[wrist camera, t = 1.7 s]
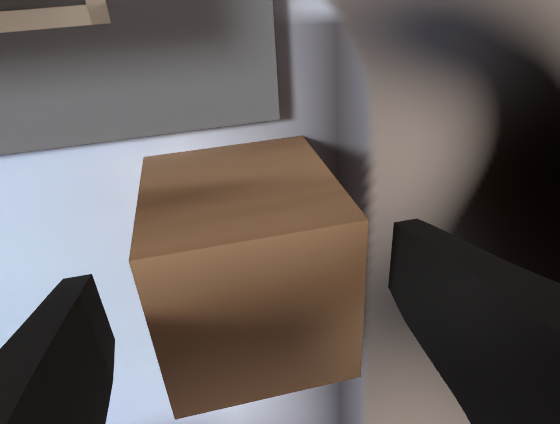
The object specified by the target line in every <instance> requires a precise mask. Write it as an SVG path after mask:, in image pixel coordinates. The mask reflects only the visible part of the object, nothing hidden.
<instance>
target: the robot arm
mask: <svg viewBox="0 0 560 424" xmlns="http://www.w3.org/2000/svg"><path fill="white" fill-rule="evenodd" d="M388 287H389V289H390V291H391V293H392V296H393V298H394V300H395V302H396V304H397V306H398V308H399V310H400V312H401V314H402V316H403V318H404V320H405V322H406V323H407V325H408V327H409V328H410V330H411V331H412V333H413V334H414V336H415V337H416V339H417V340H418V342H419V344H420V345H421V347H422V348H423V350H424V351H425V353H426V354H427V356H428V357H429V358H430V360H431V362H432V363H433V365H434V366H435V368H436V369H437V371H438V372H439V373H440V375H441V377H442V378H443V380H444V381H445V382H446V384H447V385H448V387H449V389H450V390H451V391H452V393H453V394H454V396H455V397H456V399H457V401H458V403H459V404H460V406H461V407H462V409H463V411H464V412H465V414H466V416H467V418H468V420H469V421H470V423H471V424H560V283H558V282H555V281H553V280H550V279H548V278H545V277H543V276H540V275H538V274H536V273H533V272H531V271H529V270H526V269H524V268H521V267H519V266H517V265H514V264H512V263H510V262H508V261H506V260H504V259H501V258H499V257H497V256H495V255H493V254H490V253H489V252H487V251H484V250H482V249H480V248H478V247H476V246H474V245H472V244H470V243H468V242H466V241H464V240H462V239H460V238H458V237H456V236H454V235H452V234H450V233H448V232H446V231H443V230H441V229H439V228H437V227H435V226H433V225H431V224H428V223H426V222H424V221H421V220H419V219H412V220H406V221H401V222H395V223H394V228H393V240H392V251H391V262H390V274H389V285H388ZM114 351H115V338H114V336H113V333H112V330H111V327H110V324H109V321H108V319H107V316H106V313H105V310H104V307H103V304H102V302H101V299H100V296H99V293H98V290H97V287H96V285H95V282H94V279H93V276H92V274H89V275H83V276H77V277H71V278H65V279H63V280H62V281H61V282H60V283H59V284H58V285H57V286H56V287H55V288H54V289H53V290H52V291H51V293H50V294H49V295H48V296H47V297H46V298H45V299H44V301H43V302H42V303H41V304H40V305H39V306H38V307H37V309H36V310H35V311H34V312H33V313H32V314H31V315H30V317H29V318H28V319H27V320H26V321H25V322H24V323H23V324H22V325H21V327H20V328H19V329H18V330H17V331H16V332H15V333H14V334H13V335H12V337H11V338H10V339H9V340H8V341H7V342H6V343H5V344H4V345H3V346H2V348H1V349H0V424H105V423H106V418H107V412H108V406H109V401H110V395H111V389H112V384H113V371H114Z"/></svg>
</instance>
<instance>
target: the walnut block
mask: <svg viewBox="0 0 560 424" xmlns="http://www.w3.org/2000/svg"><path fill="white" fill-rule="evenodd" d="M368 226H369V220H368V218H367V217H366V216H365V215H364V213H363V212H362V211H361V209H360V208H359V207H358V206H357V204H356V203H355V202H354V201H353V199H352V198H351V197H350V195H349V194H348V193H347V192H346V190H345V189H344V188H343V187H342V185H341V184H340V183H339V181H338V180H337V179H336V178H335V176H334V175H333V174H332V173H331V171H330V170H329V169H328V168H327V166H326V165H325V164H324V162H323V161H322V160H321V159H320V157H319V156H318V155H317V154H316V152H315V151H314V150H313V148H312V147H311V146H310V145H309V143H308V142H307V141H306V140H305V138H304V137H303V136H296V137H289V138H282V139H274V140H267V141H259V142H252V143H245V144H237V145H230V146H222V147H215V148H208V149H200V150H193V151H185V152H178V153H171V154H163V155H156V156H148V157H144V158H143V165H142V172H141V179H140V186H139V193H138V200H137V207H136V214H135V221H134V228H133V235H132V242H131V249H130V256H129V263H130V267H131V270H132V274H133V277H134V281H135V284H136V287H137V291H138V294H139V298H140V301H141V305H142V308H143V312H144V315H145V318H146V322H147V325H148V329H149V332H150V336H151V339H152V342H153V346H154V349H155V353H156V356H157V360H158V363H159V366H160V370H161V373H162V377H163V380H164V384H165V387H166V390H167V394H168V397H169V401H170V404H171V408H172V411H173V415H174V418H175V419H180V418H184V417H188V416H193V415H197V414H201V413H206V412H210V411H214V410H219V409H223V408H227V407H232V406H236V405H240V404H245V403H249V402H253V401H258V400H262V399H266V398H271V397H275V396H279V395H284V394H288V393H292V392H297V391H301V390H305V389H310V388H314V387H318V386H323V385H327V384H331V383H335V382H340V381H344V380H348V379H353V378H357V377H361V363H362V344H363V324H364V305H365V285H366V265H367V246H368Z"/></svg>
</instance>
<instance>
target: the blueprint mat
mask: <svg viewBox="0 0 560 424" xmlns="http://www.w3.org/2000/svg"><path fill="white" fill-rule="evenodd" d="M272 120H280V115H279V98H278V82H277V65H276V49H275V33H274V16H273V0H0V155H6V154H14V153H21V152H29V151H37V150H45V149H53V148H61V147H68V146H76V145H84V144H92V143H100V142H108V141H115V140H123V139H131V138H139V137H147V136H155V135H162V134H170V133H178V132H186V131H194V130H202V129H209V128H217V127H225V126H233V125H241V124H249V123H256V122H264V121H272Z"/></svg>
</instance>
